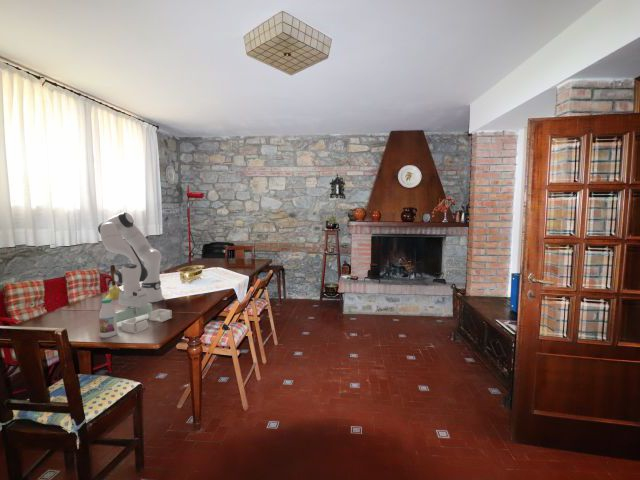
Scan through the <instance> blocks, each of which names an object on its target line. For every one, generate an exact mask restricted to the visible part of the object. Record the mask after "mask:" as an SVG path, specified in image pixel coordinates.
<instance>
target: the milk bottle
mask: <svg viewBox="0 0 640 480" xmlns="http://www.w3.org/2000/svg"><path fill="white" fill-rule="evenodd" d="M100 302H101V309H100V311H99V315H98V323H99V336H100V338H103V339H105V338H112V337H115V336H116V335H118V322H117V320H116V310H115V308H114V307H113V305H112V303H113V299H111V298H106V299H105V298H103V299H101V301H100Z"/></svg>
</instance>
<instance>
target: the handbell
mask: <svg viewBox="0 0 640 480" xmlns="http://www.w3.org/2000/svg"><path fill="white" fill-rule="evenodd" d="M116 270H117V269H116V266H115V264H111V265H110V270H109V273H110V276H111V282H112V283H111V287H110V288H108V294H107V295H106V296H105V298H104V299H106V298H111V299H112V300H115V299H119V292H120V291H121V290H120V287H119V286H117V285H116V284H117V283H116V282H115V281H114V273H115V271H116Z"/></svg>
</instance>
